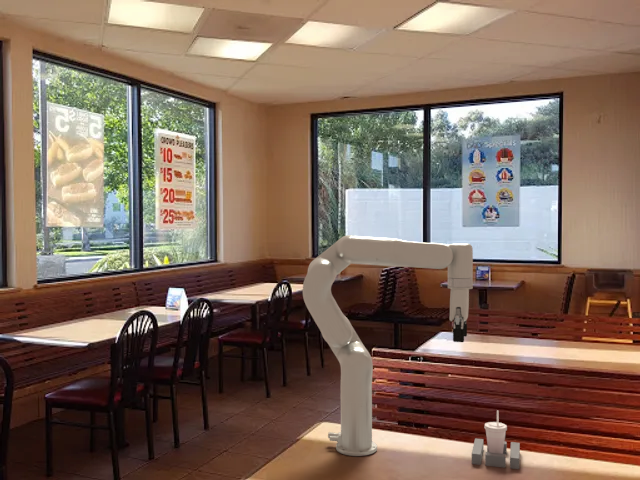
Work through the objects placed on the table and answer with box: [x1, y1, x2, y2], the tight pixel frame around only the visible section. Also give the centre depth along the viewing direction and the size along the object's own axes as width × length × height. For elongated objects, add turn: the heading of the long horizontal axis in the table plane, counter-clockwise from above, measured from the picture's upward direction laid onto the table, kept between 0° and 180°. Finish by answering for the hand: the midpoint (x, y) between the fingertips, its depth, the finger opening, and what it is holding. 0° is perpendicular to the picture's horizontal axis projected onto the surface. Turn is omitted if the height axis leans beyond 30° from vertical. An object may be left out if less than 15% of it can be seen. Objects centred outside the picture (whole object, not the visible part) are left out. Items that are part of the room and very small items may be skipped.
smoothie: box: [484, 409, 508, 454], centre depth 182 cm, size 6×6×14 cm
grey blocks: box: [471, 437, 521, 470], centre depth 182 cm, size 13×13×3 cm
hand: (460, 338), depth 191 cm, fingers open, 9 cm apart
